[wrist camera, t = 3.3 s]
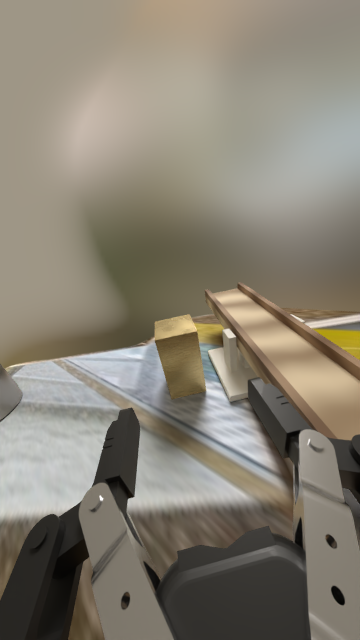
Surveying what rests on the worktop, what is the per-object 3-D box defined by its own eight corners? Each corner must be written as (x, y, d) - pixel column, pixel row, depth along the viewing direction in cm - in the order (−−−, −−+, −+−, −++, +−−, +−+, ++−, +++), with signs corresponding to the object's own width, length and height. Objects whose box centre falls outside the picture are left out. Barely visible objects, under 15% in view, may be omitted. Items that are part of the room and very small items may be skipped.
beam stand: (331, 377, 22) (345, 332, 19) (230, 401, 22) (227, 359, 19) (281, 338, 31) (284, 303, 28) (208, 354, 31) (204, 321, 28)
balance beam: (438, 451, 12) (467, 431, 10) (330, 481, 11) (344, 464, 10) (240, 294, 37) (241, 282, 36) (205, 301, 37) (204, 290, 36)
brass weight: (206, 391, 24) (197, 331, 20) (171, 399, 24) (154, 340, 19) (198, 367, 28) (189, 314, 24) (169, 374, 28) (154, 321, 24)
